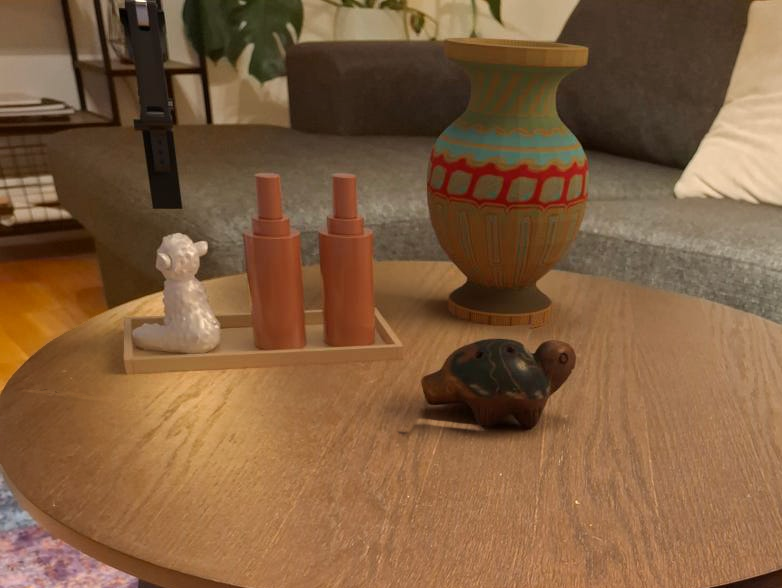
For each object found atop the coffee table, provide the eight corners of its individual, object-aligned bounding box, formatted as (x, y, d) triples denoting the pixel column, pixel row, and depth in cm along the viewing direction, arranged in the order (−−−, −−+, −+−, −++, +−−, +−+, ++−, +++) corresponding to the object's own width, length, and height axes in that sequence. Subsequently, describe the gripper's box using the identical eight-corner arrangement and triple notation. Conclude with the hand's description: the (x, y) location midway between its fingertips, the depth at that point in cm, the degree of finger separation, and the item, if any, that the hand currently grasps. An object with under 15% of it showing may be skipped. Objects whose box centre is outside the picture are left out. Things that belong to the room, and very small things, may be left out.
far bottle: (316, 345, 104) (307, 177, 93) (332, 330, 108) (325, 168, 98) (367, 351, 103) (363, 182, 93) (380, 335, 108) (378, 173, 97)
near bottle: (245, 349, 101) (228, 177, 91) (264, 333, 106) (250, 168, 96) (297, 354, 101) (284, 182, 90) (313, 338, 106) (304, 172, 95)
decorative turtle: (584, 433, 89) (590, 354, 84) (433, 449, 86) (430, 369, 81) (556, 391, 96) (561, 316, 91) (416, 405, 93) (412, 329, 88)
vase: (440, 287, 128) (446, 33, 110) (579, 300, 126) (608, 45, 109) (409, 328, 112) (411, 40, 95) (567, 344, 110) (599, 53, 93)
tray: (126, 379, 94) (123, 359, 93) (127, 335, 105) (123, 317, 104) (403, 364, 102) (403, 346, 101) (376, 324, 113) (376, 307, 112)
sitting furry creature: (199, 327, 106) (184, 218, 99) (248, 345, 102) (237, 232, 95) (130, 346, 100) (109, 231, 93) (180, 365, 96) (162, 246, 89)
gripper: (181, -71, 71) (212, 221, 83) (170, -65, 90) (196, 172, 102) (78, -80, 68) (126, 221, 81) (89, -72, 87) (126, 171, 100)
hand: (165, 194), depth 92 cm, fingers open, 13 cm apart
